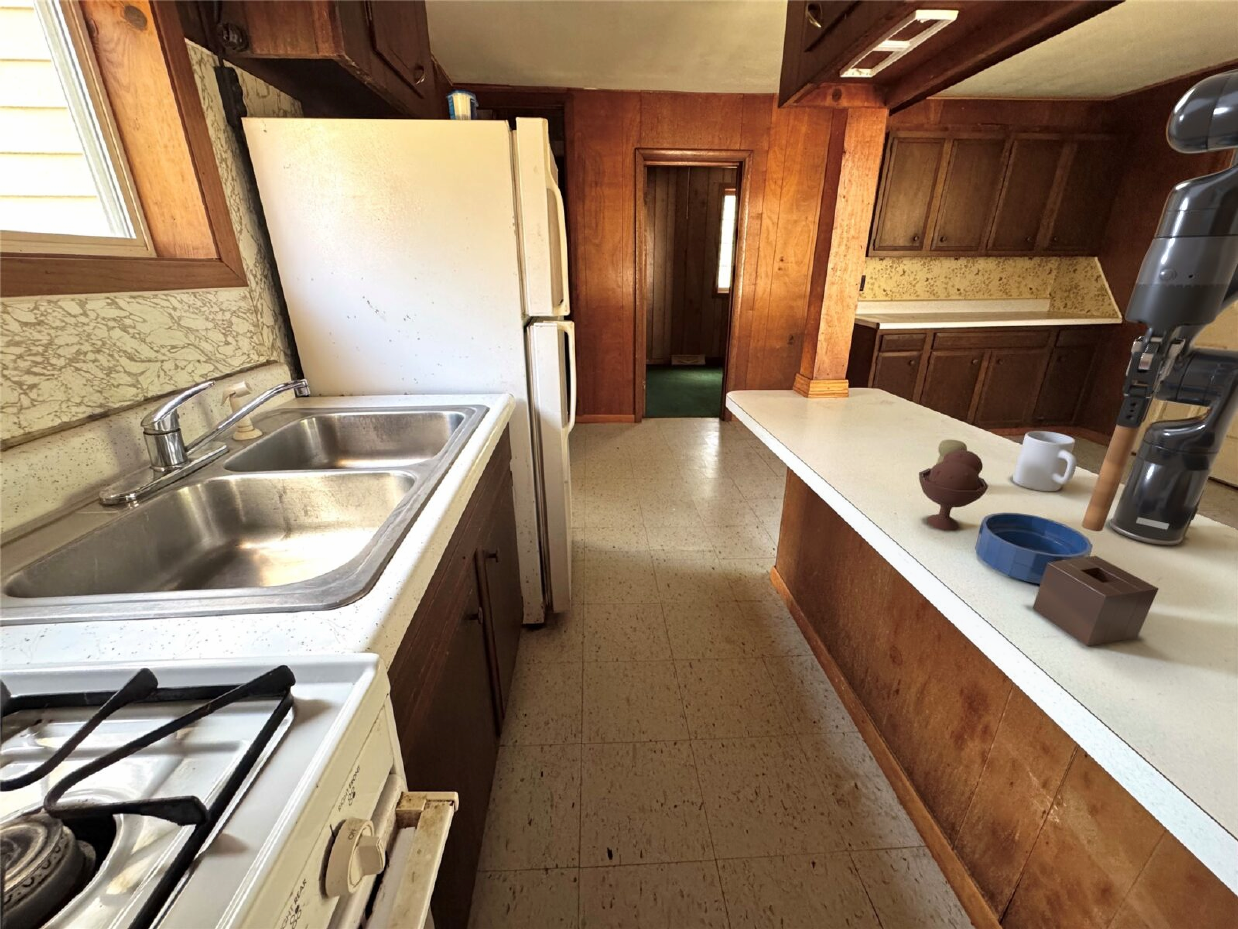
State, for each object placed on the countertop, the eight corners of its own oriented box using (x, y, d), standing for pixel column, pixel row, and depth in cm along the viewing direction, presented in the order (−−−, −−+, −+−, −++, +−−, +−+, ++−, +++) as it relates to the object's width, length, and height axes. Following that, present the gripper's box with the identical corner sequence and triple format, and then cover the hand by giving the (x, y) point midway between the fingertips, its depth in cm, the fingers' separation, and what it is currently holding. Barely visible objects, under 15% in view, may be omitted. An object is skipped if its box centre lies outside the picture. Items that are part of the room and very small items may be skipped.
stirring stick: (1090, 522, 72) (1140, 382, 64) (1106, 530, 70) (1160, 386, 62) (1077, 524, 71) (1126, 384, 64) (1092, 532, 69) (1145, 388, 62)
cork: (930, 491, 112) (940, 444, 108) (925, 480, 117) (935, 435, 113) (962, 495, 110) (974, 447, 105) (956, 484, 115) (967, 438, 111)
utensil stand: (1078, 601, 76) (1095, 555, 73) (1137, 637, 69) (1159, 588, 66) (1032, 608, 75) (1047, 562, 72) (1086, 646, 68) (1106, 596, 65)
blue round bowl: (1024, 538, 93) (1032, 508, 91) (1104, 583, 80) (1117, 550, 78) (954, 547, 91) (961, 517, 89) (1025, 595, 78) (1036, 561, 76)
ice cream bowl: (915, 505, 106) (930, 437, 100) (980, 521, 99) (999, 448, 93) (903, 526, 98) (918, 454, 93) (972, 544, 92) (992, 467, 86)
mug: (1003, 476, 118) (1015, 431, 113) (1040, 475, 117) (1054, 430, 113) (1043, 499, 106) (1058, 450, 102) (1084, 498, 106) (1101, 449, 102)
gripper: (1225, 283, 52) (1162, 444, 58) (1235, 277, 60) (1179, 419, 66) (1125, 282, 57) (1077, 429, 64) (1147, 276, 65) (1102, 408, 72)
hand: (1129, 423), depth 65 cm, fingers closed on stirring stick, 2 cm apart
